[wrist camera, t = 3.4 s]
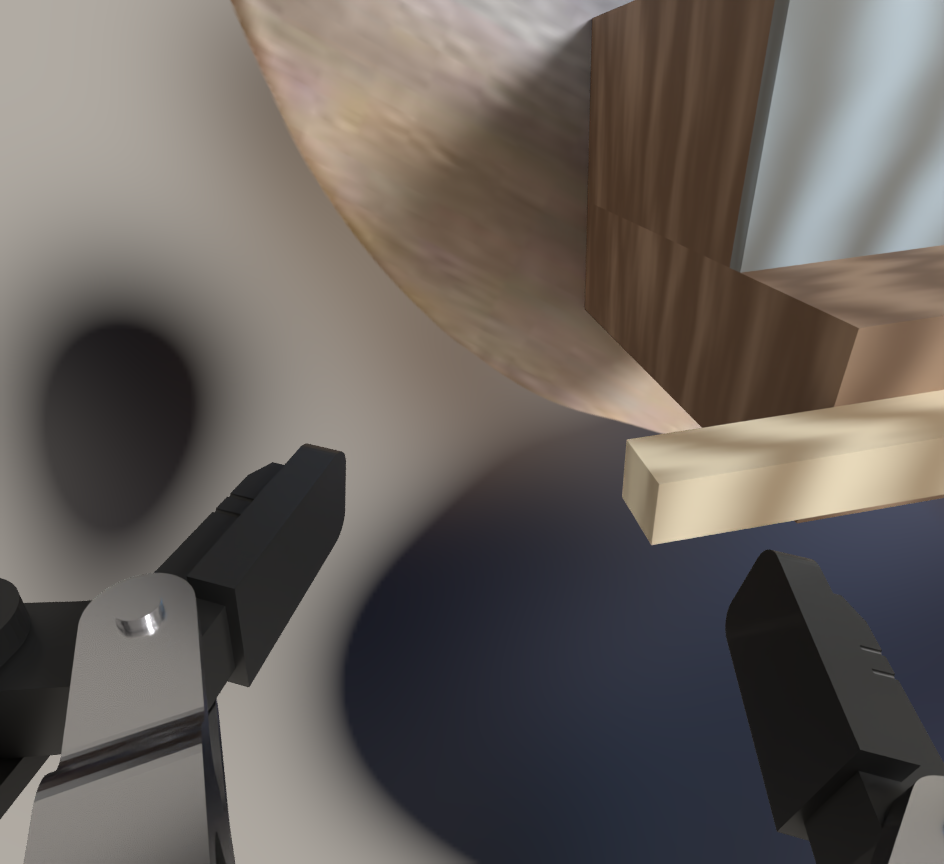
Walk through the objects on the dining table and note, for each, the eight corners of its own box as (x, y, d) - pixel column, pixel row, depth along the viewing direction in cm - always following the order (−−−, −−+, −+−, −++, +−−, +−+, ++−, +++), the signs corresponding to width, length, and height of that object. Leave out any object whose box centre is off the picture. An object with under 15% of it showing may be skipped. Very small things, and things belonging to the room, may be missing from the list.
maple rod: (622, 496, 23) (651, 545, 21) (626, 439, 21) (659, 484, 19) (1076, 421, 25) (1156, 457, 22) (1112, 363, 23) (1202, 394, 21)
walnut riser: (584, 309, 53) (796, 523, 26) (592, 18, 40) (1014, -160, 13) (728, 289, 54) (1076, 474, 27) (777, 0, 41) (1516, -198, 14)
